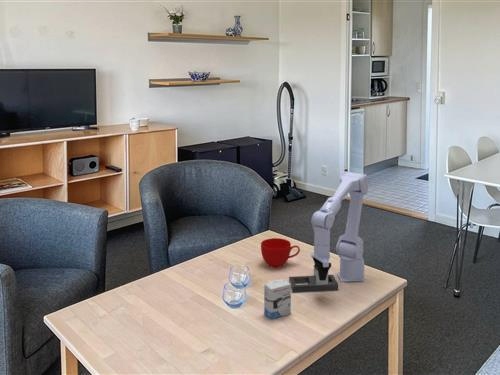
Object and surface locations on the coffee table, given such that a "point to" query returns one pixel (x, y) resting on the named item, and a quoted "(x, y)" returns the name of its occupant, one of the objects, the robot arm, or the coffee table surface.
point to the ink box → (277, 298)
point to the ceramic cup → (277, 251)
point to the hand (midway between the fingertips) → (321, 277)
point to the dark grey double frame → (312, 284)
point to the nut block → (316, 277)
